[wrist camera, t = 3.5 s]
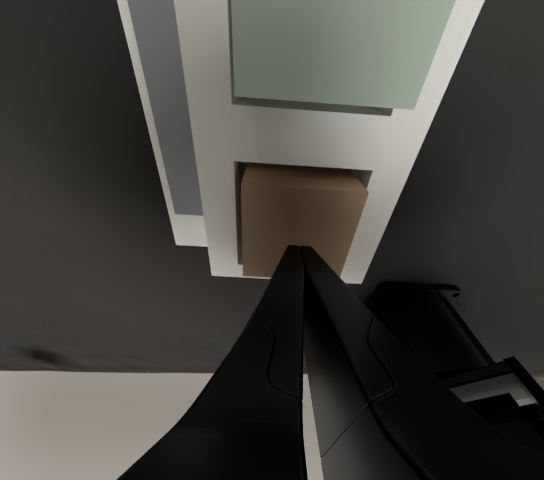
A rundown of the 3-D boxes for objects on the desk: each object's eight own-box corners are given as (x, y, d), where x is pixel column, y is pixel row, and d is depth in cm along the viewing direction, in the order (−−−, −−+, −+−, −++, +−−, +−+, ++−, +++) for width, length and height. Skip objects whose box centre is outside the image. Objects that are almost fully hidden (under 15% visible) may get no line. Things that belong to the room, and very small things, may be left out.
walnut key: (347, 163, 10) (369, 192, 8) (326, 241, 13) (338, 281, 10) (249, 157, 10) (240, 184, 8) (249, 237, 13) (242, 276, 10)
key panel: (487, -221, 6) (719, -543, 3) (341, 245, 16) (358, 290, 12) (72, -267, 6) (-178, -678, 3) (181, 235, 15) (156, 279, 12)
